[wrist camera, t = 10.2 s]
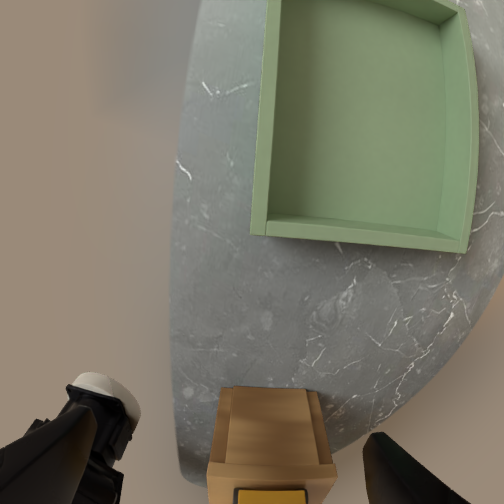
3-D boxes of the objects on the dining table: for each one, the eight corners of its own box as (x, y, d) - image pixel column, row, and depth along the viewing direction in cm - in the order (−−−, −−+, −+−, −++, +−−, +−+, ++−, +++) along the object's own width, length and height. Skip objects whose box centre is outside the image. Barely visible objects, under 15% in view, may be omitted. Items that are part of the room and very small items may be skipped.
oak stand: (220, 440, 24) (210, 518, 15) (221, 384, 22) (206, 476, 13) (301, 443, 24) (310, 519, 15) (317, 388, 22) (338, 477, 13)
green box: (251, 222, 18) (249, 235, 15) (269, -19, 14) (270, -48, 10) (438, 240, 18) (466, 254, 15) (441, 24, 14) (464, 8, 10)
